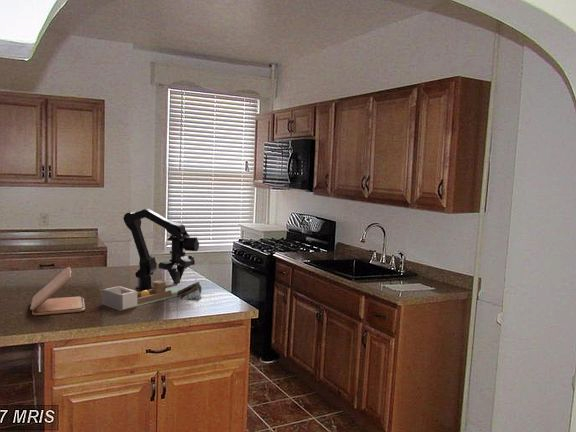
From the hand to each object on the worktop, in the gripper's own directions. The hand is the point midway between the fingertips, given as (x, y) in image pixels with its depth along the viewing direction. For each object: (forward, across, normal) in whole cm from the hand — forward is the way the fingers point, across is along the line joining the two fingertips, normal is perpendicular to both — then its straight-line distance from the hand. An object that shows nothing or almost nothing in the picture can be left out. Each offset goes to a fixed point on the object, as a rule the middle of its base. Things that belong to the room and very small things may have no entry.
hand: (176, 280), depth 245 cm
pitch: (+6, -17, 0) cm, 18 cm away
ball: (+3, -19, 0) cm, 19 cm away
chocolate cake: (+6, -2, -12) cm, 14 cm away
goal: (+6, -32, 0) cm, 32 cm away
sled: (+5, -6, 0) cm, 8 cm away
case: (+6, -52, +16) cm, 55 cm away
